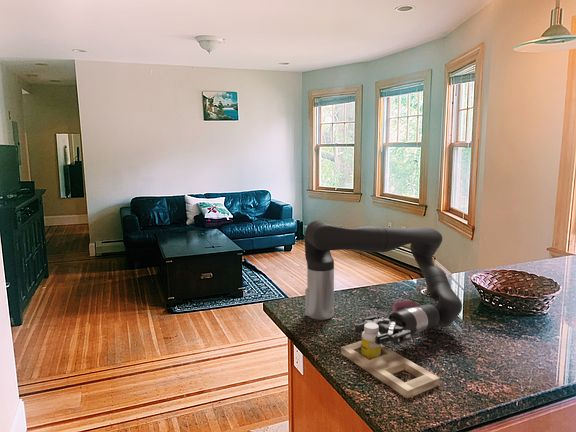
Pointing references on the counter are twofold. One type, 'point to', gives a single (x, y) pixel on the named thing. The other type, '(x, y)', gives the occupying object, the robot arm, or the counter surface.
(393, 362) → the socket rail
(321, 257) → the robot arm
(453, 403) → the counter surface
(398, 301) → the pink arch block
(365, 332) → the supplement bottle
